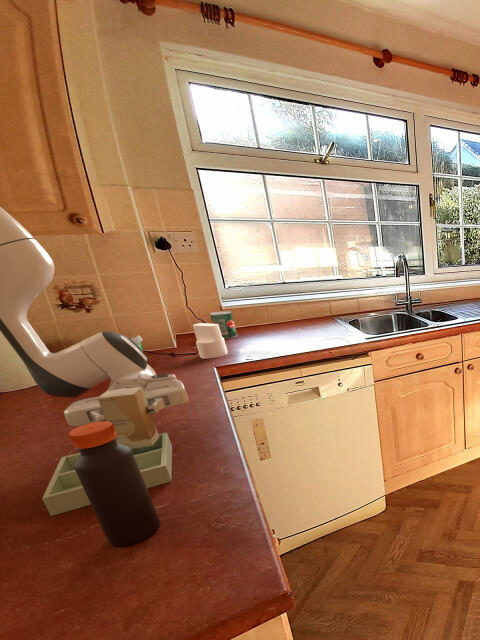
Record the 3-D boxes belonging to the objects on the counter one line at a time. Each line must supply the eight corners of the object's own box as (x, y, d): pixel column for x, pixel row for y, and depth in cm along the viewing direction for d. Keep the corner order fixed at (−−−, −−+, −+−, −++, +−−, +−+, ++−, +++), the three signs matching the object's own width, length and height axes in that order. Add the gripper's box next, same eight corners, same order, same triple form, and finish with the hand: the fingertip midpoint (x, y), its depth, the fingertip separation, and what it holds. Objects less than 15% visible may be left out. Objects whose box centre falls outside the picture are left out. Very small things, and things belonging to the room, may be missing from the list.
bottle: (142, 546, 68) (95, 438, 61) (97, 549, 68) (45, 440, 60) (170, 518, 75) (131, 417, 67) (129, 521, 74) (85, 419, 67)
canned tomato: (215, 337, 189) (208, 312, 185) (235, 333, 194) (229, 310, 190) (218, 340, 183) (211, 315, 179) (239, 337, 188) (233, 312, 184)
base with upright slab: (233, 351, 167) (225, 322, 163) (214, 359, 159) (205, 328, 155) (213, 350, 169) (205, 321, 164) (194, 357, 161) (184, 327, 156)
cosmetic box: (117, 451, 88) (94, 398, 83) (126, 442, 92) (104, 390, 87) (154, 445, 90) (133, 393, 85) (161, 436, 94) (142, 385, 89)
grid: (50, 516, 76) (41, 498, 74) (69, 472, 89) (61, 456, 87) (171, 481, 85) (165, 465, 84) (172, 446, 98) (166, 432, 97)
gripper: (65, 393, 91) (51, 415, 81) (182, 372, 102) (183, 389, 92) (77, 419, 93) (65, 444, 83) (190, 396, 105) (191, 415, 94)
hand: (128, 415), depth 87 cm, fingers closed on cosmetic box, 7 cm apart
